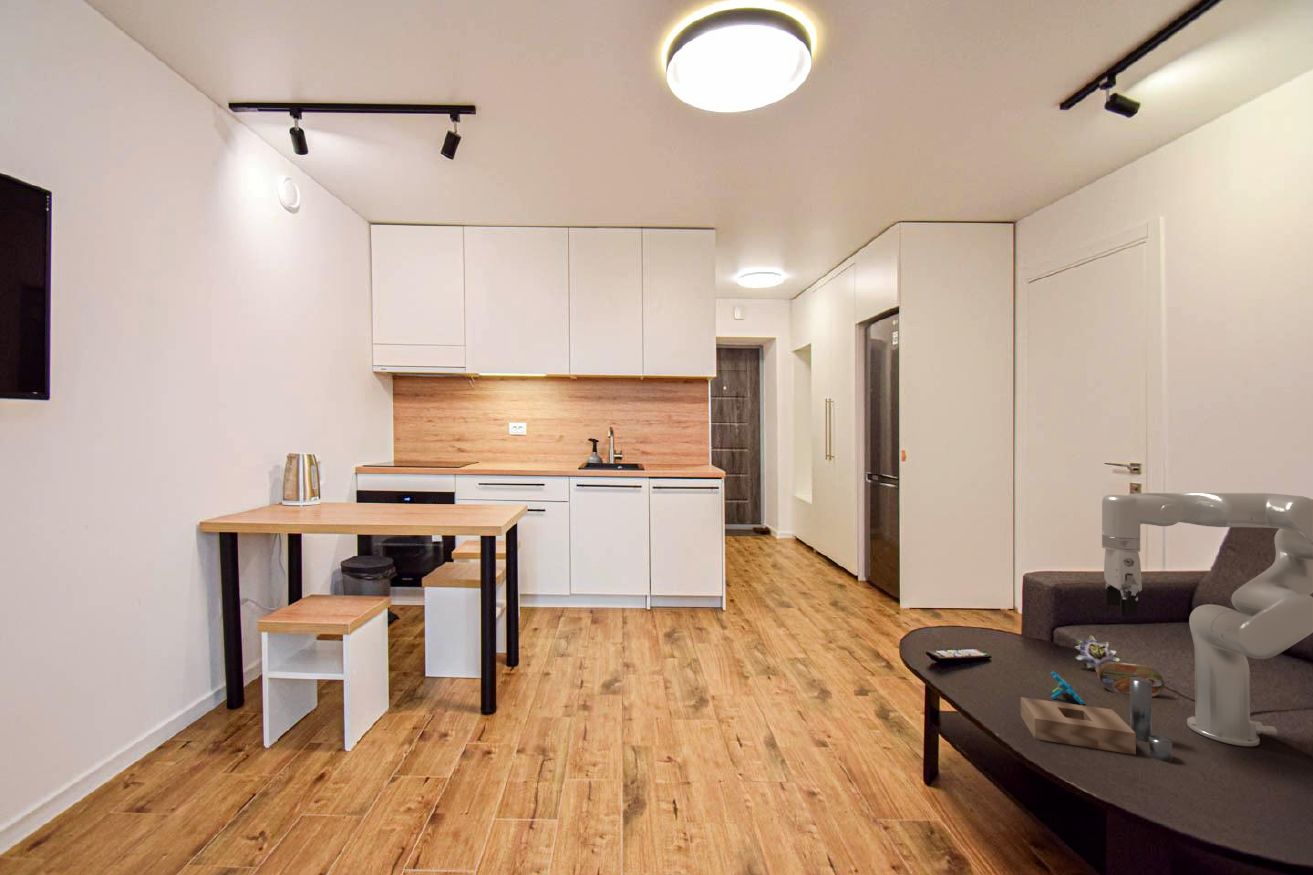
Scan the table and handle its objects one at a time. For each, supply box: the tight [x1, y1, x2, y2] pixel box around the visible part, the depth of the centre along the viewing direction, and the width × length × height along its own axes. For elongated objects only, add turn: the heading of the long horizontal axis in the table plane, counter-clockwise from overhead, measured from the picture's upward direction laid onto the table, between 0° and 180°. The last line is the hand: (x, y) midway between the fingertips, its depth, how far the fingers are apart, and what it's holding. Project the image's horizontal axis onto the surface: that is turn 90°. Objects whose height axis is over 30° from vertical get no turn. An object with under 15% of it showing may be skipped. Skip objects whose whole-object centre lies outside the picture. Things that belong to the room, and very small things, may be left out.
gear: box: [1050, 670, 1085, 706], centre depth 155 cm, size 11×6×10 cm
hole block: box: [1020, 696, 1137, 755], centre depth 136 cm, size 20×12×5 cm, turn 70°
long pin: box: [1129, 677, 1153, 742], centre depth 135 cm, size 4×4×14 cm
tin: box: [1096, 661, 1165, 698], centre depth 159 cm, size 15×3×8 cm, turn 68°
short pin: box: [1148, 734, 1173, 763], centre depth 126 cm, size 4×4×4 cm
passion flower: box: [1073, 635, 1121, 673], centre depth 177 cm, size 11×11×12 cm
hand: (1120, 610), depth 140 cm, fingers open, 9 cm apart
